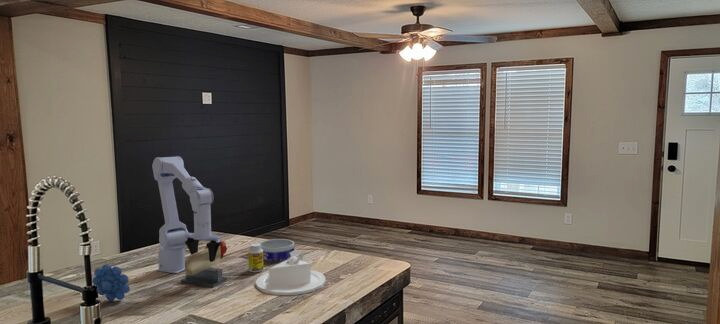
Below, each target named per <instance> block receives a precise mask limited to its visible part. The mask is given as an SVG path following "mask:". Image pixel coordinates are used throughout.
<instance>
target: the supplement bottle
mask: <svg viewBox="0 0 720 324" xmlns="http://www.w3.org/2000/svg"><path fill="white" fill-rule="evenodd" d="M263 270H264V261H263V249H261V244H259V243H252V244H250V248H249V249H248V271H249V272H250V273H260V272H262V271H263Z"/></svg>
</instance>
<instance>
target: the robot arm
mask: <svg viewBox="0 0 720 324" xmlns="http://www.w3.org/2000/svg"><path fill="white" fill-rule="evenodd" d="M151 167H152V172H153V178H154V180H155V181H156V182H157V185H158V189H159V194H160V195H159V197H160V200H161V201H160V202H161V207H162V212H163V217H164V224H163V225H162V226H161V227H160V228H159V231H158V233H159V237H158V238H159V239H158V241H159V245H160V247H161V248H160V249H159V251H158V254H157V256H158V257H157V258H158V268H157V270H156V271H158V272H165V273H172V274H179V273H181V272H183V271H185V258H184V257H186V249H185V247H187V249H188V250H189V253H190V255H192V254H194V253H197V252H199V243H200V241H204V242H207V243H206V244H207V247H208V251H209V260H210V262H213V261H215V257H216V253H217V250H218V248H219V246H220V244H221V241H223V240H222V235H217V234H213V233H212V214H211V213H212V212H211V210H212V209H211V205H212V204H213V202H214V197H215V196H214V193H213V191H212V190H211V188H207V187H204V186H203V185H202V184H201V182H199V180H198V179H197V178H196V177H194V176H190V174H189V172H188V171H187V170H186V168H185V164H184V160H183V158H182V157H181V156H179V155H176V156H165V157H158V156H157V157H155V158H154V160H153V162H152V165H151ZM176 178H177V179H178V180H179V181H180V182H181V188H182V189H183V190H184V191H185V193H186V194H187V195H188V196H189V202H190V205H191V210H192V211H193V229H194V230H193V232H189V231H188V229H187V224H185V223H183V222H182V221H180V219H179V213H178V207H177V201H176V196H175V190H174V184H173V181H174V179H176Z"/></svg>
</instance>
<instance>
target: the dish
mask: <svg viewBox="0 0 720 324" xmlns="http://www.w3.org/2000/svg"><path fill="white" fill-rule="evenodd" d="M290 255H291V257H290V258H288V259H287V260H285V261H281V262H278V263H277V264H275V265H273V266H272V267H270V268H268V272H267V273H264V274H261V275H260V276H259V277H258V278H257V279H256V281H255V287H256V288H257V290H259V291H260V292H262V293H265V294H269V295H276V296H298V295H305V294H308V293H309V294H310V293H311V292H312V293H313V292H315V291H317V290H320V289H322V288H323V287H324V286H325V285H326V276H325V275H324V274H323V273H321V272H320V271H316V270H312V269H311V263H310V262H307V261H305V260H303V259H304V257H305V253H302V252H301V251H300V250H298V249H294V251H292V252H290ZM324 284H325V285H324Z"/></svg>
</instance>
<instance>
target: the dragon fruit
mask: <svg viewBox="0 0 720 324" xmlns="http://www.w3.org/2000/svg"><path fill="white" fill-rule="evenodd" d="M205 246H206V247H205V248H204V249H207V248H208V247H207V243H206V245H205ZM220 247H221V259H223V258H224V255H225V254H226V252H227V250H228V248H227V243H226V241H223V240H222V241H221V244H220Z"/></svg>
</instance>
